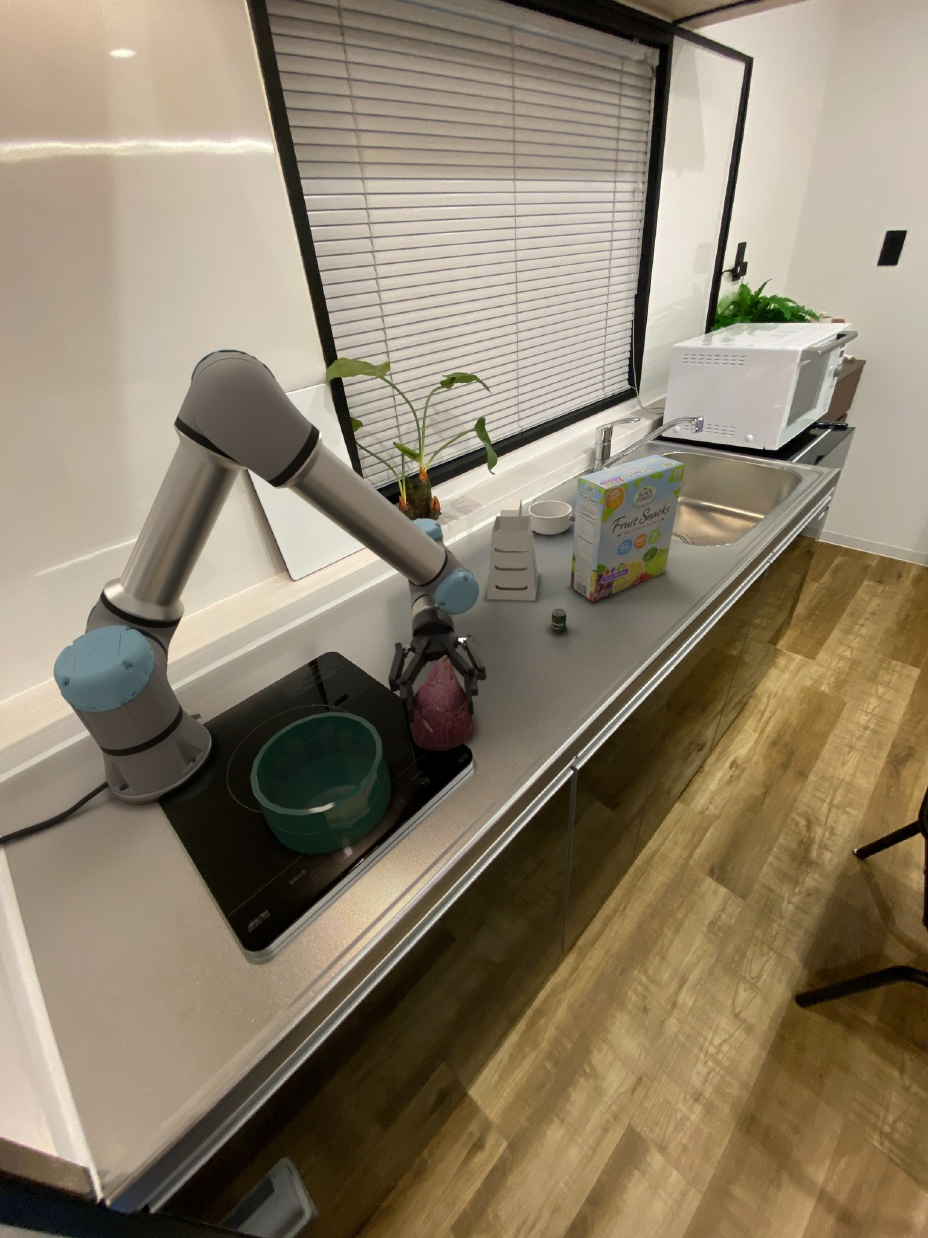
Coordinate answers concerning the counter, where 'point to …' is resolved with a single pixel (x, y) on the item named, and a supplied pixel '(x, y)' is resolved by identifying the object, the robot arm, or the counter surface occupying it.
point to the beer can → (558, 621)
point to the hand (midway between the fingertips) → (441, 712)
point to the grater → (512, 554)
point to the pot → (322, 782)
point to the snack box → (624, 525)
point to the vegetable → (441, 710)
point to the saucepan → (550, 517)
